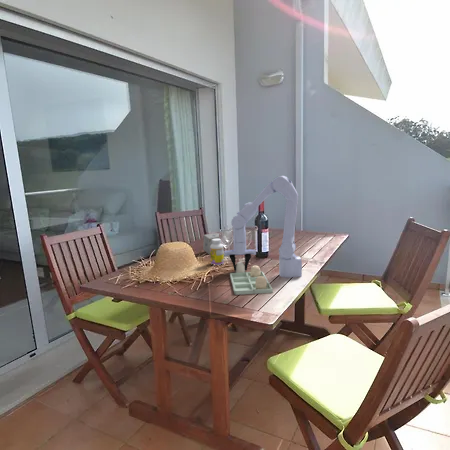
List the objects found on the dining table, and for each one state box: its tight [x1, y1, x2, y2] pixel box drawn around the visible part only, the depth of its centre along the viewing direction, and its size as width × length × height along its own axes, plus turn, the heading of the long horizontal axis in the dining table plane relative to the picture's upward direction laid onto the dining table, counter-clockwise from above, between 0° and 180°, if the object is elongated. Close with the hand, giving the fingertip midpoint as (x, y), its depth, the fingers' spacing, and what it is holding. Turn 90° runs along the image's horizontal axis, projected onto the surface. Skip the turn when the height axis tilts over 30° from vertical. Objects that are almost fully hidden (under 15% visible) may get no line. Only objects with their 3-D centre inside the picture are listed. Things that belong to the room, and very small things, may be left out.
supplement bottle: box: [209, 238, 225, 266], centre depth 165 cm, size 7×7×13 cm
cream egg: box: [235, 261, 246, 273], centre depth 151 cm, size 4×4×5 cm
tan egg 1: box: [249, 264, 262, 277], centre depth 142 cm, size 4×4×5 cm
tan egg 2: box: [255, 276, 268, 289], centre depth 128 cm, size 4×4×5 cm
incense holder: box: [202, 232, 220, 255], centre depth 189 cm, size 10×8×10 cm
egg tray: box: [229, 270, 274, 296], centre depth 135 cm, size 15×22×2 cm
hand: (240, 270), depth 151 cm, fingers closed on cream egg, 4 cm apart
